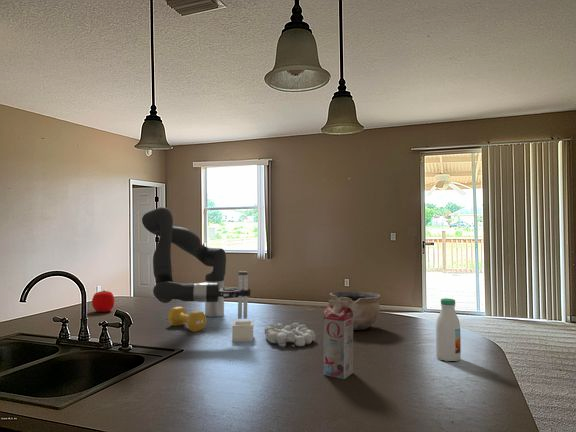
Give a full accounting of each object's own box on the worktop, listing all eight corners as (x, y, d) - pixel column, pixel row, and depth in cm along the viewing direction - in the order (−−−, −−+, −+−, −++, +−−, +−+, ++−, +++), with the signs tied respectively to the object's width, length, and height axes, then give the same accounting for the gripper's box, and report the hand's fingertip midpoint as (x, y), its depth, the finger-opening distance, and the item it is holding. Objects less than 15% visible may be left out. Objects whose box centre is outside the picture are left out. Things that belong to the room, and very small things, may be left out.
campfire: (250, 340, 167) (250, 325, 167) (287, 330, 183) (287, 317, 183) (291, 353, 152) (291, 336, 152) (327, 341, 167) (328, 326, 168)
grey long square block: (238, 316, 171) (239, 271, 172) (247, 316, 171) (247, 271, 172) (237, 318, 168) (238, 272, 168) (246, 318, 168) (247, 272, 168)
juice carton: (344, 379, 125) (344, 303, 125) (323, 375, 129) (323, 301, 129) (353, 372, 131) (353, 300, 131) (333, 368, 134) (333, 298, 135)
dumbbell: (208, 329, 184) (208, 310, 184) (190, 333, 177) (190, 313, 177) (183, 322, 197) (183, 305, 197) (166, 326, 190) (166, 307, 190)
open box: (233, 335, 173) (233, 321, 173) (253, 335, 174) (253, 320, 174) (232, 341, 165) (232, 325, 165) (252, 341, 166) (253, 325, 166)
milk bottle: (449, 363, 139) (448, 302, 140) (431, 357, 146) (430, 298, 146) (465, 360, 143) (465, 300, 143) (447, 354, 150) (447, 296, 150)
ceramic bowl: (322, 331, 181) (322, 295, 181) (336, 320, 201) (336, 288, 202) (375, 336, 173) (375, 299, 173) (384, 324, 193) (384, 291, 193)
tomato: (109, 313, 216) (109, 292, 216) (88, 313, 216) (88, 292, 216) (117, 309, 227) (118, 289, 227) (98, 309, 227) (98, 289, 227)
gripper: (204, 285, 162) (250, 285, 163) (208, 280, 176) (250, 280, 177) (203, 305, 162) (249, 305, 163) (208, 298, 176) (250, 298, 177)
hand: (250, 292), depth 170 cm, fingers closed on grey long square block, 3 cm apart
